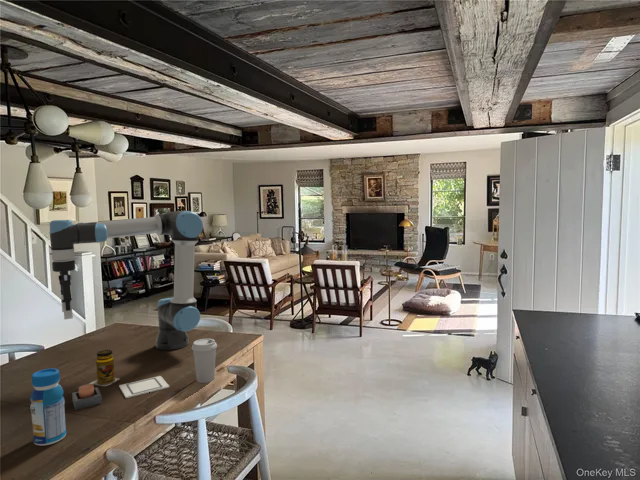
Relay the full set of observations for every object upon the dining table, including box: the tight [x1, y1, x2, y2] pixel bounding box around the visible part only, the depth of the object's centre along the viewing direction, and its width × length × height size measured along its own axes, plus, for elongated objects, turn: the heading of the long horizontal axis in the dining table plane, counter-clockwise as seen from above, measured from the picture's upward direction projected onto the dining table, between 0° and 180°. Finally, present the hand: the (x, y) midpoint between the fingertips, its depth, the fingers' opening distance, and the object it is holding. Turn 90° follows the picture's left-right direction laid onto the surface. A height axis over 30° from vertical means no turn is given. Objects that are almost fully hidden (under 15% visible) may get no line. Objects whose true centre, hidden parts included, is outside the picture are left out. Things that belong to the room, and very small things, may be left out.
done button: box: [78, 383, 95, 398], centre depth 149 cm, size 5×5×3 cm
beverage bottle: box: [29, 367, 67, 447], centre depth 125 cm, size 8×8×20 cm
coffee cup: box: [191, 338, 218, 384], centre depth 167 cm, size 10×10×15 cm
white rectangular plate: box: [118, 375, 170, 399], centre depth 161 cm, size 15×12×1 cm
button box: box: [71, 386, 103, 411], centre depth 149 cm, size 8×8×3 cm
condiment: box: [88, 349, 121, 387], centre depth 167 cm, size 7×8×12 cm
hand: (67, 315), depth 167 cm, fingers open, 13 cm apart
